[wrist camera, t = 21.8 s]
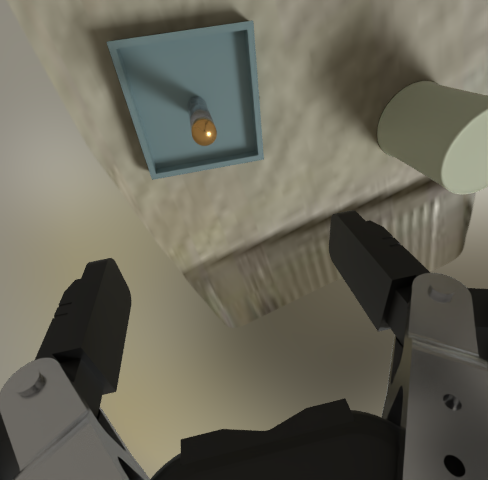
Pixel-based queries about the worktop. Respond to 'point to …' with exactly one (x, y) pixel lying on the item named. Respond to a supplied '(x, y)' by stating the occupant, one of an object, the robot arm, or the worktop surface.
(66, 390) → the robot arm
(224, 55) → the tray
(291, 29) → the worktop surface
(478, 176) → the can
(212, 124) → the orange-topped grey cylinder
